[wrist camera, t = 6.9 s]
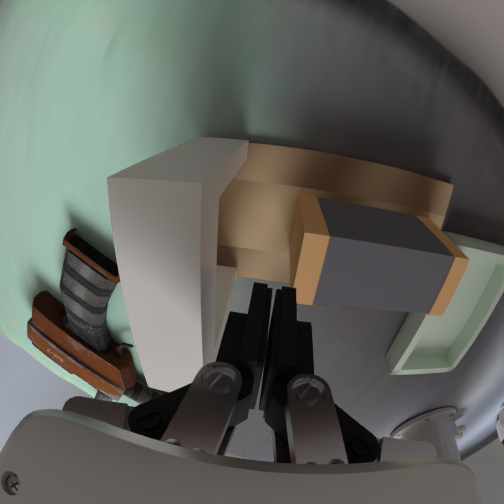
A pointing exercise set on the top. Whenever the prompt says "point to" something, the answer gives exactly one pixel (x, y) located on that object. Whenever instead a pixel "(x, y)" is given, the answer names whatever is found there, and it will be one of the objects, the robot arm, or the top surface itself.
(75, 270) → the tool
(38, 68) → the top surface
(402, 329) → the tray
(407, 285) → the block
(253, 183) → the holder
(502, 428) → the spread jar
